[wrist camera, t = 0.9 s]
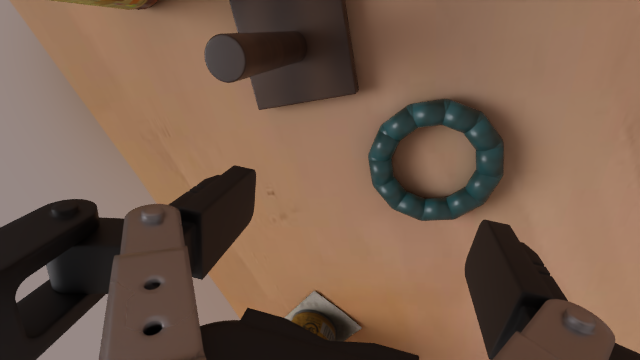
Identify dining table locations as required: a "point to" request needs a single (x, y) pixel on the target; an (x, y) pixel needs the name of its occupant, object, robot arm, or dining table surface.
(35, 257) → the robot arm
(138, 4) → the sauce bottle
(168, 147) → the dining table surface
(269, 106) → the peg stand
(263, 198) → the dining table surface
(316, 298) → the condiment
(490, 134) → the ring
